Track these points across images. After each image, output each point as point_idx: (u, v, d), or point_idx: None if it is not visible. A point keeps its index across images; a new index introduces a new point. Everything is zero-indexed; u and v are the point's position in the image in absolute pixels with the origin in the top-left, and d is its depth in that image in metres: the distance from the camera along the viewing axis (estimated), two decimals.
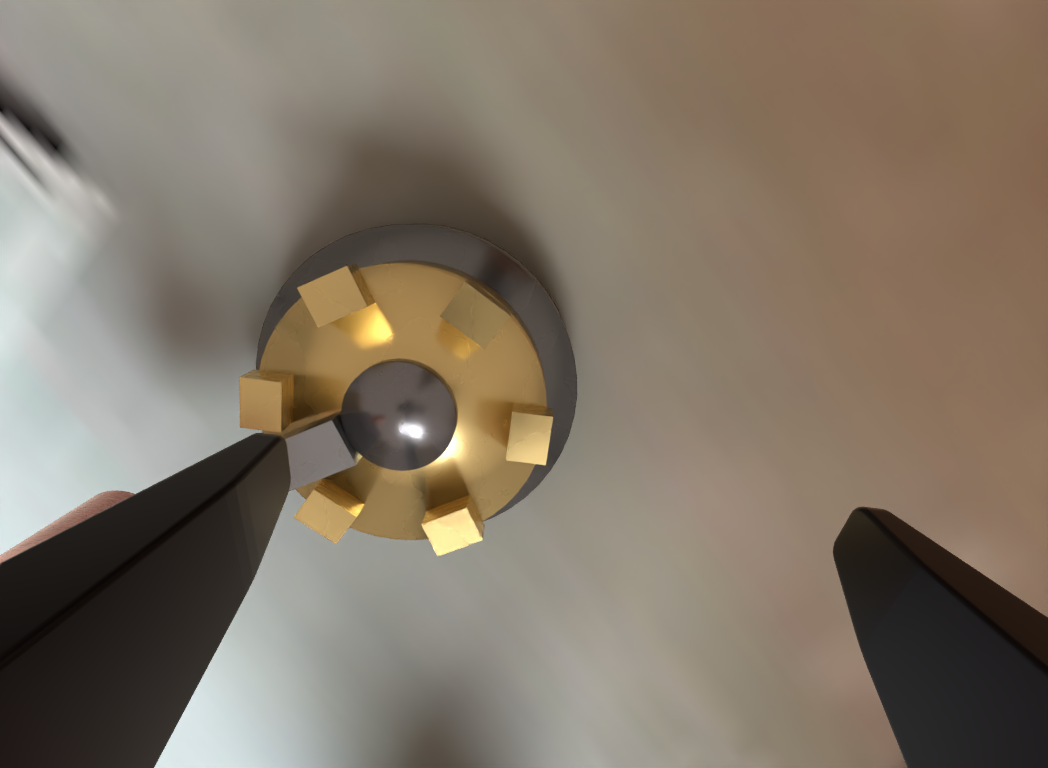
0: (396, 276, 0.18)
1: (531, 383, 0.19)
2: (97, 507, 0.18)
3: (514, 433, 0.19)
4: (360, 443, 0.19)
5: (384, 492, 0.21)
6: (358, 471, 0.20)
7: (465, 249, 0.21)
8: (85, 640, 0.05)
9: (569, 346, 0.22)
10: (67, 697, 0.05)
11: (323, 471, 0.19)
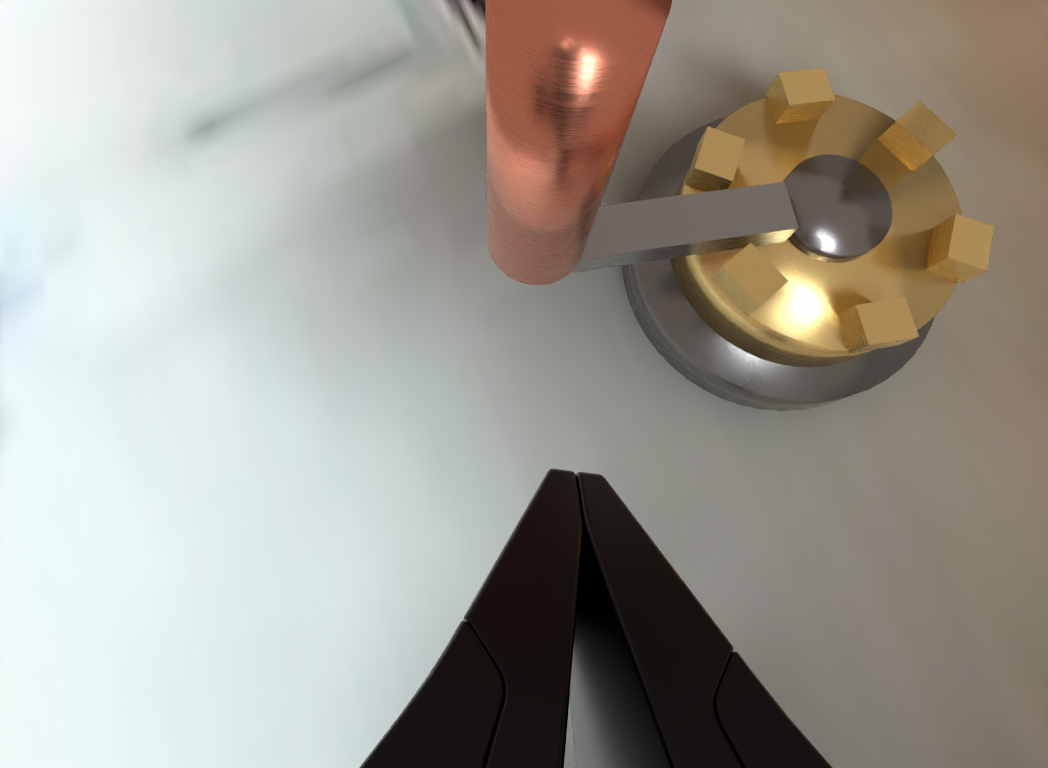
0: (840, 104, 0.21)
1: (951, 214, 0.20)
2: None
3: (956, 233, 0.19)
4: (796, 218, 0.19)
5: (797, 285, 0.19)
6: (774, 258, 0.20)
7: None
8: None
9: None
10: None
11: (764, 226, 0.19)
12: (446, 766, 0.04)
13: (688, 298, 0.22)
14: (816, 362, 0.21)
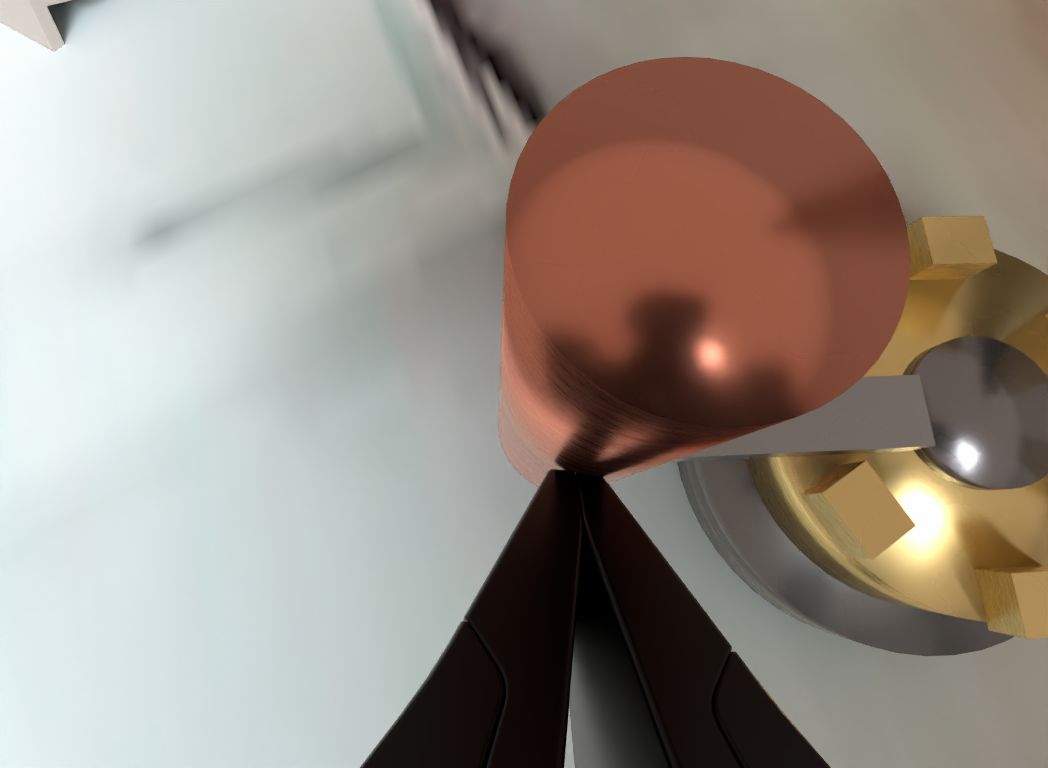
0: None
1: None
2: None
3: None
4: (930, 425, 0.14)
5: (920, 518, 0.14)
6: (891, 473, 0.14)
7: None
8: None
9: None
10: None
11: (887, 439, 0.13)
12: (446, 766, 0.04)
13: (759, 491, 0.16)
14: None
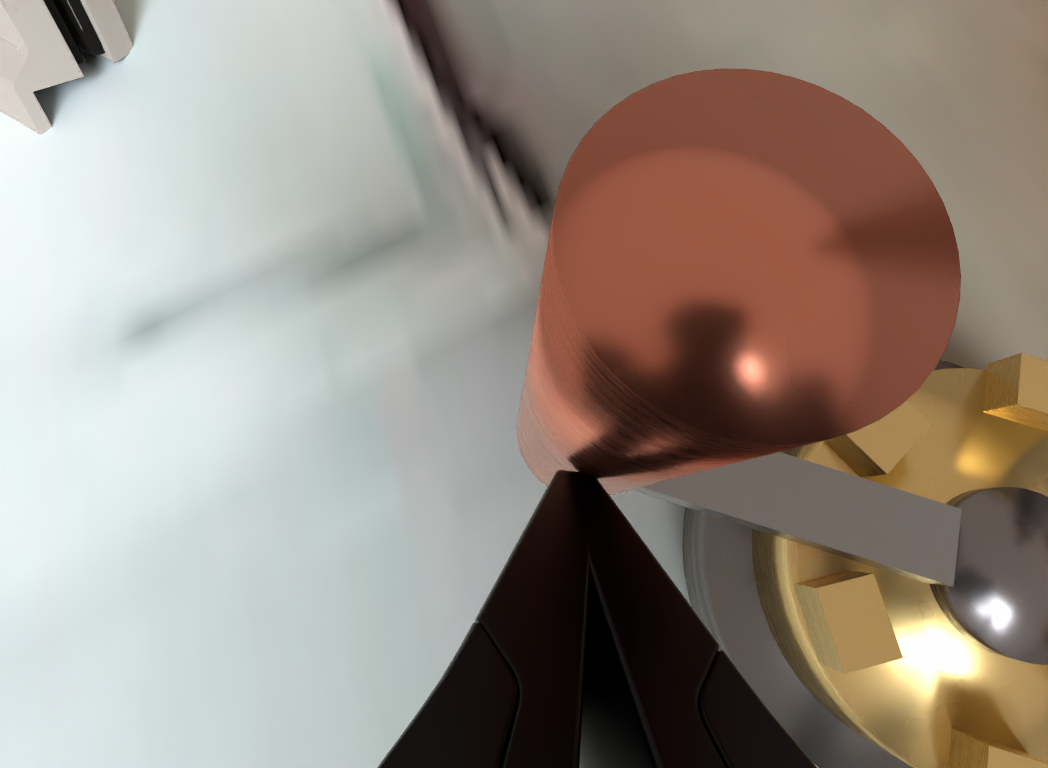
0: None
1: None
2: None
3: None
4: (955, 564, 0.13)
5: (912, 654, 0.13)
6: (897, 599, 0.13)
7: None
8: None
9: None
10: None
11: (904, 560, 0.13)
12: None
13: (755, 568, 0.16)
14: None
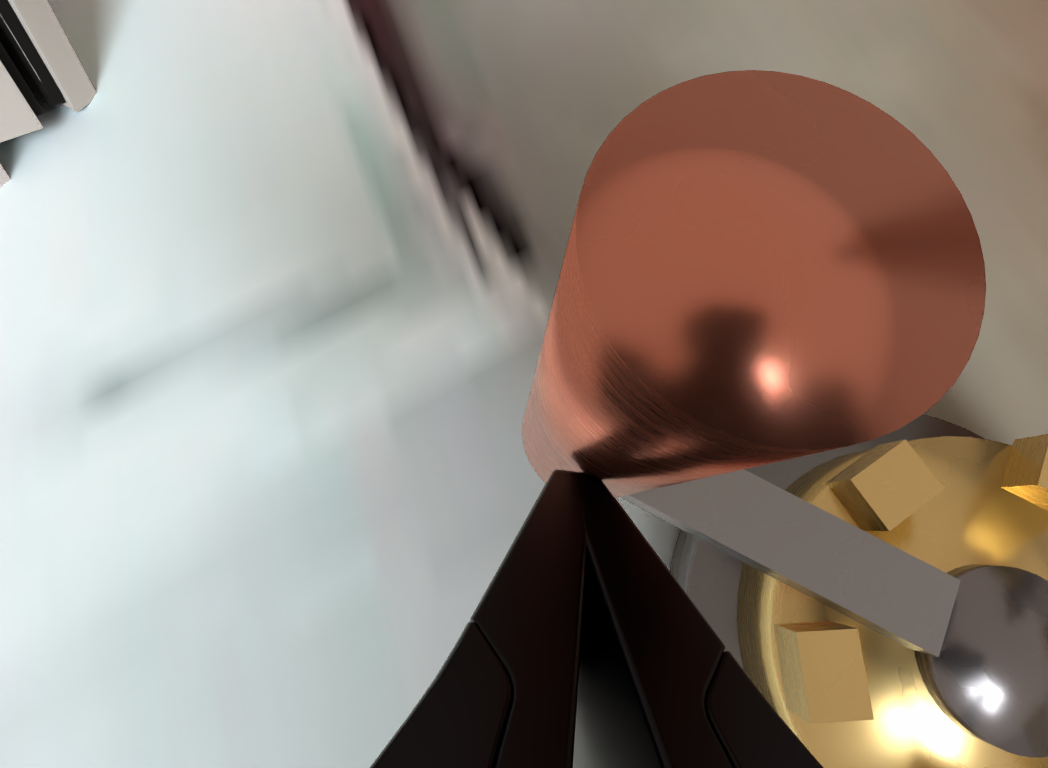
0: None
1: None
2: None
3: None
4: (945, 636, 0.13)
5: (883, 719, 0.13)
6: (878, 659, 0.13)
7: None
8: None
9: None
10: None
11: (891, 621, 0.12)
12: (455, 767, 0.04)
13: (739, 604, 0.15)
14: None
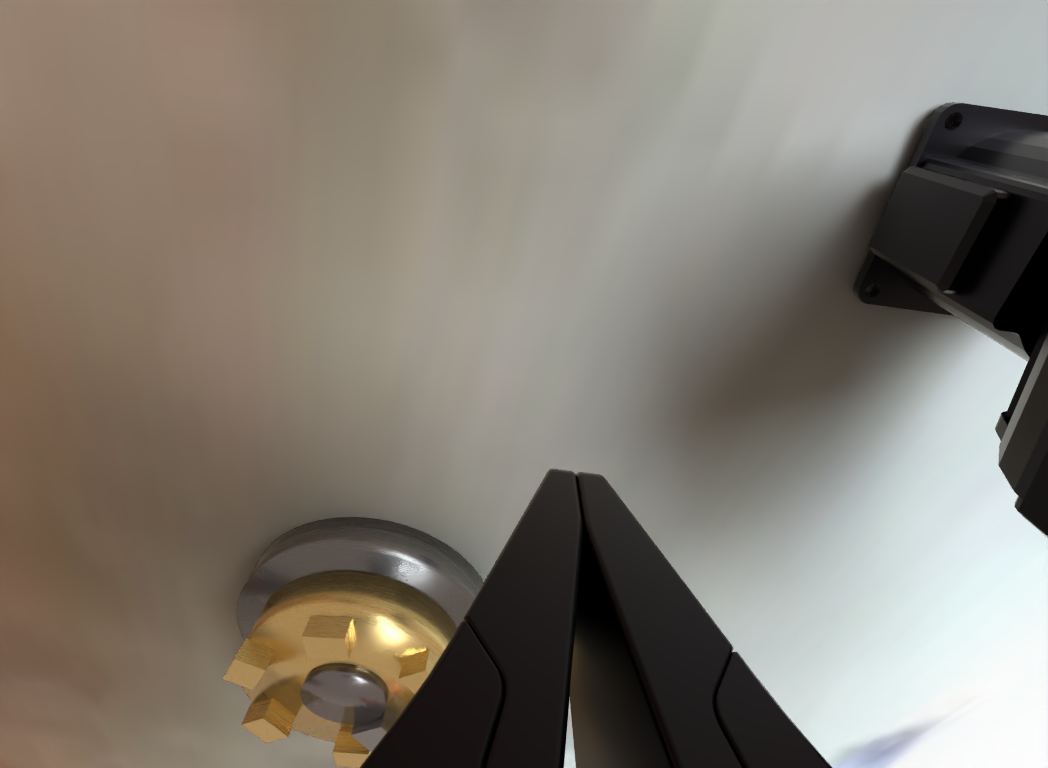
0: (250, 688, 0.27)
1: (295, 627, 0.24)
2: None
3: (324, 655, 0.23)
4: (369, 717, 0.26)
5: None
6: (401, 708, 0.27)
7: None
8: None
9: (244, 588, 0.27)
10: None
11: None
12: (446, 766, 0.04)
13: None
14: None
